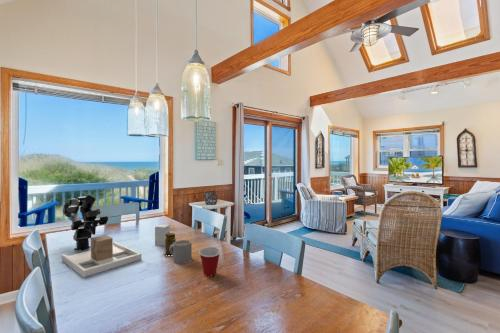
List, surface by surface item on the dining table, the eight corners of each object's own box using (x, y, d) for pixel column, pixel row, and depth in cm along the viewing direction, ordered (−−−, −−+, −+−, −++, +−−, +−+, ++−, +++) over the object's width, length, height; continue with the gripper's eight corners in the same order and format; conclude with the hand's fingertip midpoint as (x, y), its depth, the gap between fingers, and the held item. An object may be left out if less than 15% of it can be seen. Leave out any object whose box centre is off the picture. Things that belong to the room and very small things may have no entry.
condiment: (175, 251, 158) (175, 232, 158) (177, 255, 150) (177, 235, 150) (163, 252, 155) (163, 233, 154) (165, 257, 147) (165, 237, 147)
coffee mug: (195, 258, 145) (195, 241, 145) (182, 264, 136) (182, 246, 136) (178, 254, 152) (178, 237, 152) (165, 259, 143) (165, 242, 143)
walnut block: (90, 257, 142) (90, 238, 142) (105, 253, 149) (105, 234, 149) (97, 261, 137) (97, 241, 137) (112, 257, 143) (112, 237, 143)
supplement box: (164, 246, 166) (164, 227, 166) (154, 245, 168) (154, 226, 167) (170, 242, 173) (170, 224, 173) (160, 242, 175) (160, 224, 175)
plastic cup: (202, 281, 118) (202, 256, 117) (196, 272, 127) (196, 248, 127) (224, 276, 123) (224, 252, 122) (216, 268, 132) (216, 245, 132)
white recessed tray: (61, 260, 142) (61, 254, 142) (114, 246, 165) (114, 241, 165) (84, 277, 121) (83, 270, 121) (141, 259, 144) (141, 253, 143)
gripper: (72, 207, 145) (79, 229, 138) (107, 203, 159) (115, 223, 153) (68, 219, 150) (74, 241, 143) (102, 213, 164) (109, 233, 158)
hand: (94, 234), depth 149 cm, fingers closed
